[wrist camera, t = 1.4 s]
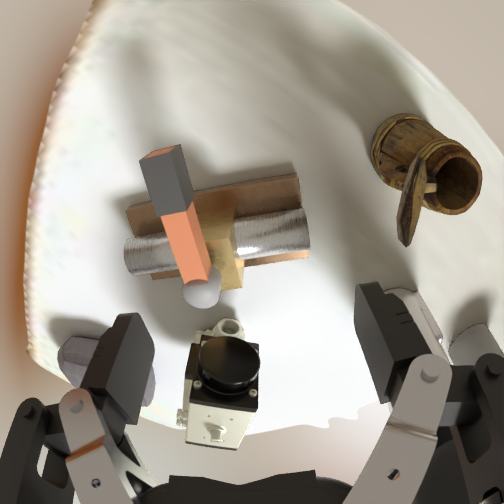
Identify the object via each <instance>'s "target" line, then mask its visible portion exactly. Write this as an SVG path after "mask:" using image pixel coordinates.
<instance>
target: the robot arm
mask: <svg viewBox="0 0 504 504" xmlns="http://www.w3.org/2000/svg"><path fill="white" fill-rule="evenodd" d="M354 326H355V331H356V334H357V337H358V339H359V342H360V345H361V348H362V350H363V353H364V356H365V359H366V362H367V365H368V367H369V370H370V373H371V376H372V379H373V382H374V385H375V388H376V391H377V394H378V397H379V400H380V403H381V404H384V403H388V407H389V410H390V414H391V415H390V417H389V419H388V421H387V423H386V425H385V428H384V430H383V432H382V434H381V436H380V438H379V440H378V442H377V444H376V446H375V448H374V450H373V452H372V454H371V456H370V458H369V460H368V461H367V463H366V465H365V467H364V469H363V470H362V472H361V474H360V476H359V477H358V479H357V481H356V482H355V484H354V486H351V485H349V484H347V483H345V482H342V481H339V480H336V479H332V478H326V477H316V473H315V470H310V471H303V472H296V473H287V474H278V475H274V476H271V477H268V478H265V479H261V480H258V481H254V482H251V483H247V484H243V485H235V484H230V483H225V482H221V481H217V480H212V479H209V478H205V477H189V476H173V475H170V476H169V483H165V484H161V485H159V484H158V483H157V481H156V480H155V479H154V478H153V477H152V476H151V474H150V473H149V472H148V471H147V469H146V468H145V466H144V465H143V463H142V461H141V459H140V457H139V456H138V454H137V452H136V450H135V448H134V447H133V445H132V443H131V441H130V439H129V437H128V435H127V433H126V432H125V431H124V429H125V425H126V424H132V425H137V422H138V417H139V414H140V409H141V405H142V401H143V397H144V393H145V389H146V385H147V381H148V377H149V373H150V370H151V366H152V362H153V358H154V354H155V348H154V343H153V340H152V338H151V336H150V334H149V332H148V330H147V328H146V326H145V324H144V322H143V320H142V318H141V316H140V315H139V314H138V313H125V314H119V315H118V316H117V318H116V320H115V322H114V324H113V326H112V328H108V330H107V331H106V332H105V333H104V334H103V335H102V336H101V338H100V340H99V342H98V344H97V346H96V349H95V351H94V353H93V358H91V360H90V363H89V365H88V367H87V370H86V372H85V374H84V377H83V379H82V382H81V384H80V387H79V388H76V389H73V390H70V391H69V392H67V393H66V394H65V395H64V396H63V398H62V399H61V401H60V403H58V404H53V405H48V406H44V405H43V404H42V403H41V402H40V401H39V400H38V399H37V398H29V399H26V400H25V401H23V402H22V403H21V404H20V406H19V407H18V410H17V412H16V414H15V417H14V420H13V422H12V425H11V428H10V431H9V433H8V437H7V439H6V442H5V446H4V448H3V452H2V455H1V458H0V504H73V497H74V491H76V493H77V496H78V498H79V501H80V503H81V504H504V358H503V357H502V356H500V355H498V354H495V353H487V354H484V355H482V356H481V357H479V359H478V360H477V362H476V363H475V365H458V366H456V365H451V364H450V362H449V360H448V358H447V356H446V354H445V352H444V350H443V348H442V346H441V343H442V340H443V334H442V332H441V330H440V328H439V326H438V325H437V323H436V321H435V319H434V317H433V316H432V314H431V312H430V310H429V309H428V307H427V305H426V303H425V302H424V300H423V298H422V297H421V295H420V293H419V292H411V291H409V290H407V289H402V288H396V289H390V290H388V291H385V292H383V290H382V288H381V286H380V285H379V283H378V282H377V281H375V282H370V283H364V284H358V285H357V286H356V291H355V307H354ZM42 445H44V446H45V447H46V448H48V449H49V450H48V454H47V457H46V461H45V465H44V470H43V474H42V477H40V475H39V474H38V471H37V463H38V459H39V455H40V452H41V448H42Z"/></svg>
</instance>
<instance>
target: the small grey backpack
mask: <svg viewBox="0 0 504 504" xmlns="http://www.w3.org/2000/svg"><path fill="white" fill-rule="evenodd" d="M98 342H99V340H97V339H90V338H81V337H73V336H72V337H71V338H70V339H69V340H68V341H67V342H65V343H64V344H63V345H62V347H61V348H60V349H59V351H58V357H57V360H58V363H59V367H60V369H61V371H62V372H63V374H64V375H65V376H66V378H67V379H68V380H69V381H70V383H71V384H72V385H73V386H74V387H76V388H79V387H80V384H81V382H82V379H83V377H84V374H85V372H86V370H87V367H88V365H89V363H90V360H91V358H93V353H94V351H95V349H96V346H97V344H98ZM154 390H155V376H154V370H153V366H151V370H150V373H149V377H148V381H147V385H146V389H145V393H144V397H143V401H142V405H141V406H149V405H150V404H151V401H152V399H153V396H154Z"/></svg>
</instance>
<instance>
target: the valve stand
mask: <svg viewBox="0 0 504 504" xmlns="http://www.w3.org/2000/svg"><path fill="white" fill-rule="evenodd" d="M194 196H195V197H194V199H193V204H194V207H195V211H196V214H197V218H198V221H199V224H200V228H201V231H202V235H203V238H204V241H205V244H206V248H207V251H208V254H209V258H210V261H211V264H212V265H213V266H215V267H216V268H217V269H218V270H219V271H220V273H221V275H222V285H221V290H220V291H222V290H229V289H237V288H242V285H243V272H244V267H248V266H255V265H261V264H268V263H275V262H282V261H288V260H295V259H301V258H308V250H310V239H309V231H308V225H307V219H306V215H305V211H304V208H302V201H301V194H300V186H299V179H298V176H297V173H295V174H289V175H282V176H276V177H270V178H263V179H258V180H252V181H246V182H240V183H235V184H230V185H224V186H219V187H214V188H209V189H204V190H199V191H194ZM126 214H127V217H128V219H129V222H130V225H131V227H132V230H133V233H134V235H135V237H134V238H130V239H128V240H127V241H126V243H125V246H124V259H125V263H126V266H127V268H128V270H129V272H130V273H131V274H133V275H142V274H149V273H150V274H151V276H152V279H153V280H155V279H163V278H170V277H177V276H181V277H182V275H181V272H180V270H179V267H178V264H177V262H176V259H175V256H174V253H173V251H172V248H171V245H170V242H169V240H168V237H167V234H166V231H165V228H164V225H163V222H162V219H161V216H160V217H157V216H156V213H155V210H154V207H153V204H152V201H149V202H145V203H140V204H136V205H132V206H130V207H129V208H128V209H127V210H126ZM182 279H183V278H182ZM183 282H184V280H183Z"/></svg>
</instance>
